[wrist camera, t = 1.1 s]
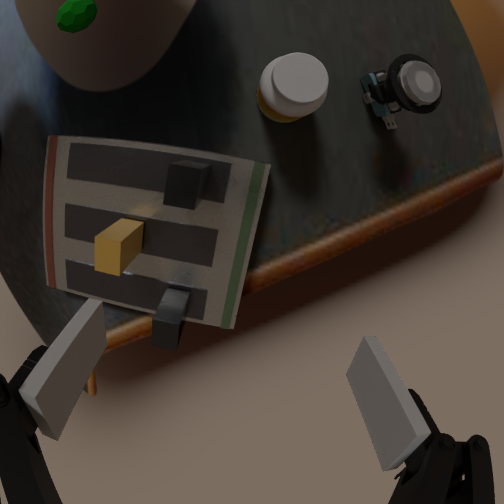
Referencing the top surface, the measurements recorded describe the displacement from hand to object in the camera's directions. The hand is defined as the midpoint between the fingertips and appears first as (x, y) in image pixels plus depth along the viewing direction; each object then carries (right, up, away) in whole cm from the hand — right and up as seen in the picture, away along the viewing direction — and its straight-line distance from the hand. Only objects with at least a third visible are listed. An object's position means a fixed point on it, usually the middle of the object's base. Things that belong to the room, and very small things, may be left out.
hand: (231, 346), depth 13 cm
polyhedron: (-19, +32, +8) cm, 38 cm away
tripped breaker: (-11, +6, +14) cm, 19 cm away
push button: (+14, +21, +13) cm, 29 cm away
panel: (-11, +7, +17) cm, 22 cm away
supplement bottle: (+4, +20, +13) cm, 24 cm away
